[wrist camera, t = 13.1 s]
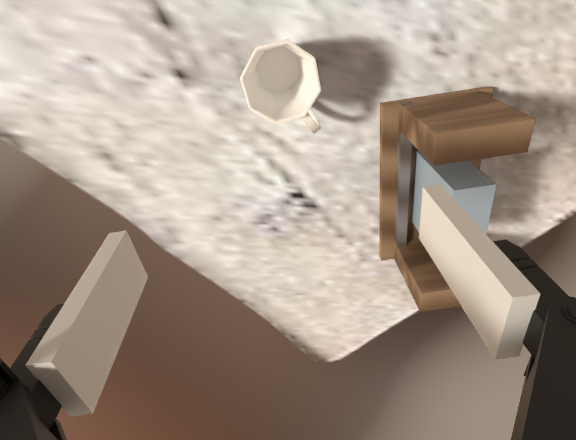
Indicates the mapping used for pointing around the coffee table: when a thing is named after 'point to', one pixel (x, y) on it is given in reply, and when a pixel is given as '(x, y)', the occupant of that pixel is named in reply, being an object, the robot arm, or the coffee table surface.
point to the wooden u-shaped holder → (437, 150)
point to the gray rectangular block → (455, 188)
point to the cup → (282, 83)
